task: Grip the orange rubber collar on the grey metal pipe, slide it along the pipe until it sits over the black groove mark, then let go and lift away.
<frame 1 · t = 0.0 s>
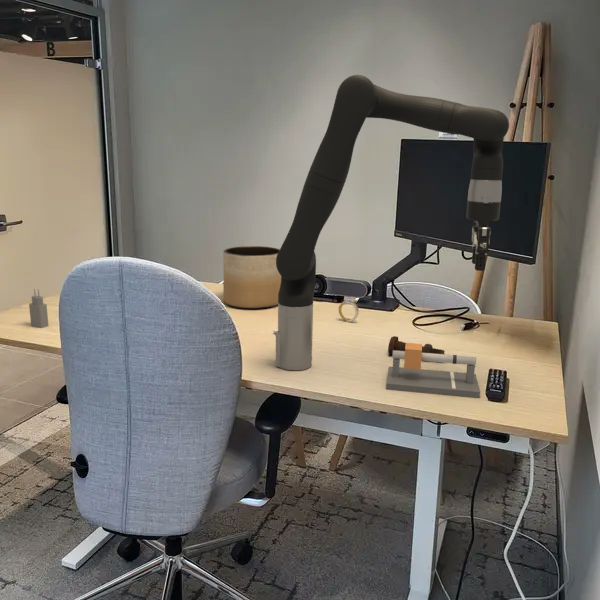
hand: (477, 267, 142), 29 cm above the table, tool pointing down, fingers open, 8 cm apart
planter: (253, 303, 221), on the table
bolt: (415, 359, 164), on the table
teacup and saucer: (276, 332, 187), on the table
pipe stand: (431, 384, 146), on the table
power adapter: (39, 326, 188), on the table
collar: (413, 355, 145), point 7 cm above the table, slide at 0.0 cm
ring: (347, 322, 198), on the table
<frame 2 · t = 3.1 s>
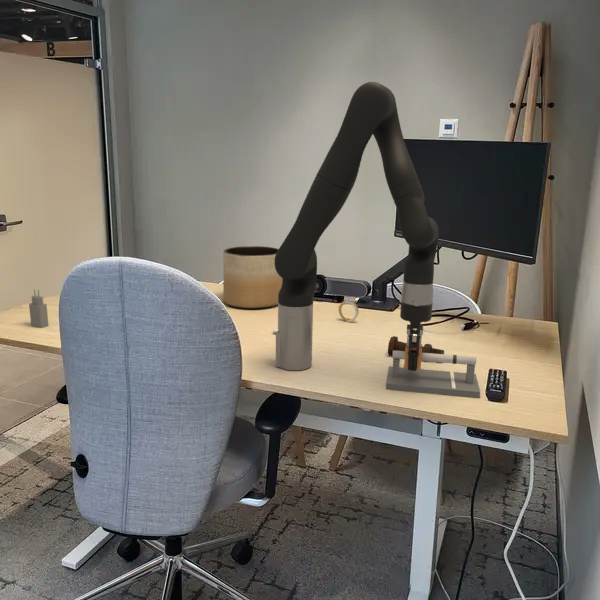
hand: (412, 365, 145), 4 cm above the table, tool pointing down, fingers closed on collar, 5 cm apart
collar: (413, 355, 145), point 7 cm above the table, slide at 0.0 cm, touching gripper
everything else where it was.
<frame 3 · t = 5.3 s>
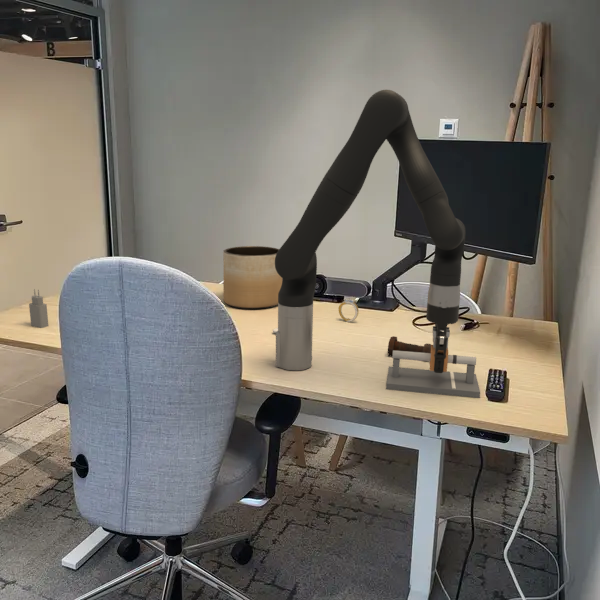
hand: (438, 368, 144), 4 cm above the table, tool pointing down, fingers closed on collar, 5 cm apart
collar: (438, 358, 144), point 7 cm above the table, slide at 6.3 cm, touching gripper
everything else where it was.
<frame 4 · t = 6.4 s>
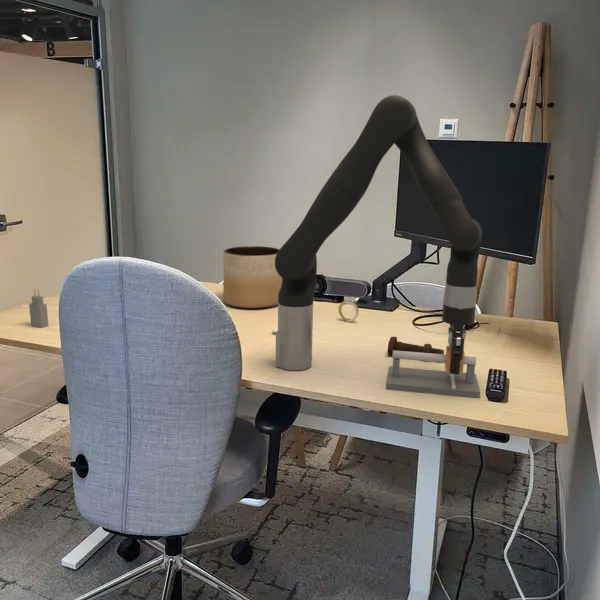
hand: (453, 369, 144), 4 cm above the table, tool pointing down, fingers closed on collar, 5 cm apart
collar: (454, 359, 143), point 7 cm above the table, slide at 10.0 cm, touching gripper
everything else where it was.
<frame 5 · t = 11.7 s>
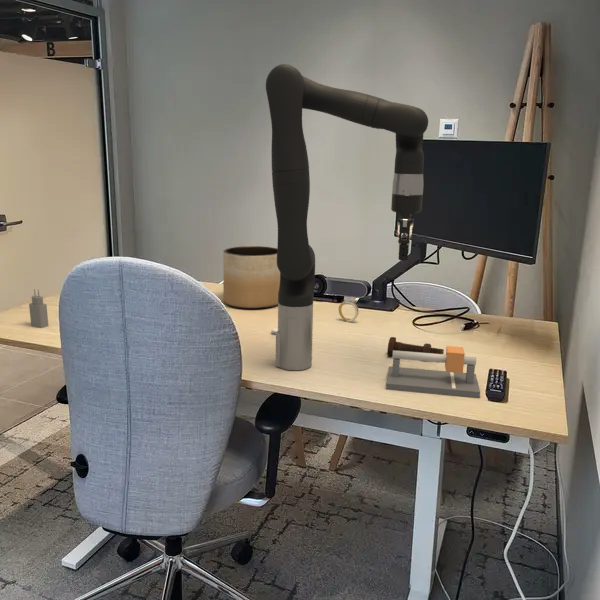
hand: (403, 257, 148), 30 cm above the table, tool pointing down, fingers open, 8 cm apart
collar: (454, 359, 143), point 7 cm above the table, slide at 10.0 cm
everything else where it was.
at the end: collar slide at 10.0 cm; the gripper is holding nothing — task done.
